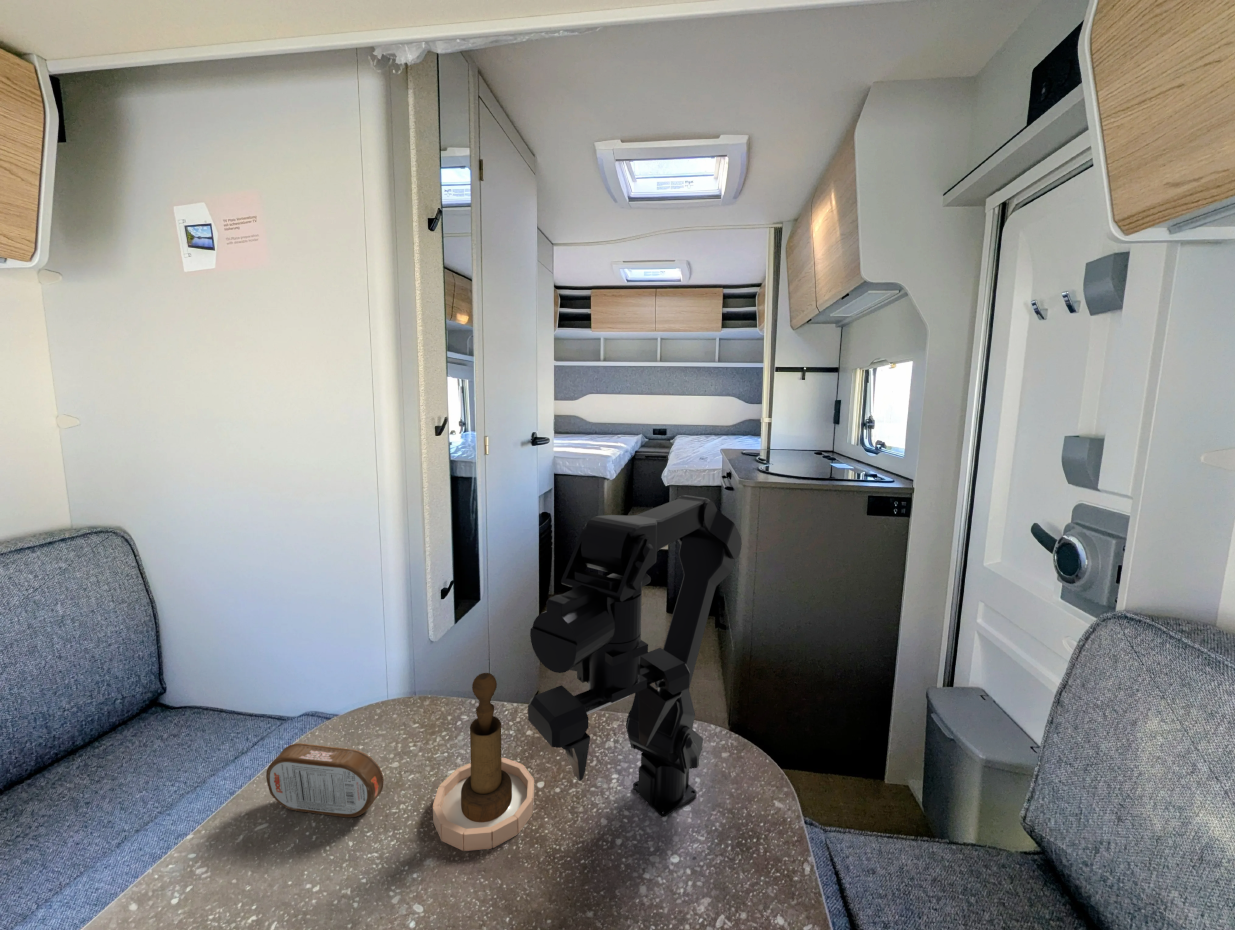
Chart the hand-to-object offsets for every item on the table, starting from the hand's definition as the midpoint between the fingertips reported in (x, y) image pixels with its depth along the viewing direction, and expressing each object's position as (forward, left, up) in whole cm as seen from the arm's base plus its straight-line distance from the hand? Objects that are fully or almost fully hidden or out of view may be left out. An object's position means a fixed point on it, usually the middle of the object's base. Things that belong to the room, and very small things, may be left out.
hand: (612, 760), depth 57 cm
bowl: (+9, -16, -13) cm, 22 cm away
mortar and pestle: (+9, -16, -12) cm, 22 cm away
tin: (+26, -28, -13) cm, 40 cm away
